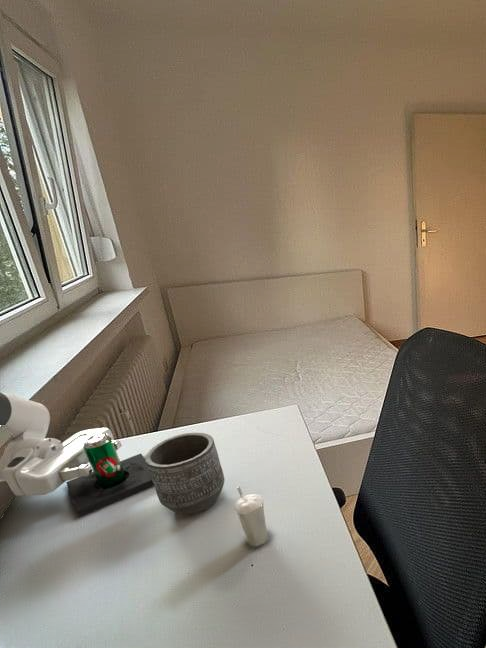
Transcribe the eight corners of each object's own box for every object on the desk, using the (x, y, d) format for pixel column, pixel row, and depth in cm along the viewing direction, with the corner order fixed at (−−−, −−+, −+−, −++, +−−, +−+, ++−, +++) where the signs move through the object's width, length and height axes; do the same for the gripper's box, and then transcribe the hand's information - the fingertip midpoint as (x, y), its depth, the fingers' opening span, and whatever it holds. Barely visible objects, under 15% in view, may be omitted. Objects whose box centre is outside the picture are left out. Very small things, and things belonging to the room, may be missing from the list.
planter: (196, 528, 82) (178, 472, 77) (149, 515, 87) (129, 460, 82) (241, 489, 92) (227, 436, 87) (197, 479, 97) (181, 428, 92)
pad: (79, 517, 87) (76, 511, 87) (68, 487, 97) (66, 481, 97) (159, 483, 96) (157, 477, 96) (142, 458, 106) (141, 453, 106)
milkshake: (261, 525, 82) (250, 481, 78) (276, 539, 79) (265, 493, 74) (238, 538, 79) (225, 493, 75) (252, 553, 76) (239, 507, 72)
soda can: (108, 479, 99) (89, 433, 94) (131, 476, 99) (114, 430, 94) (96, 493, 94) (75, 445, 90) (120, 490, 95) (101, 443, 90)
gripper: (83, 445, 105) (138, 443, 104) (9, 501, 87) (75, 500, 86) (73, 422, 103) (130, 420, 102) (-6, 475, 84) (63, 473, 83)
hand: (104, 457), depth 94 cm, fingers open, 8 cm apart
